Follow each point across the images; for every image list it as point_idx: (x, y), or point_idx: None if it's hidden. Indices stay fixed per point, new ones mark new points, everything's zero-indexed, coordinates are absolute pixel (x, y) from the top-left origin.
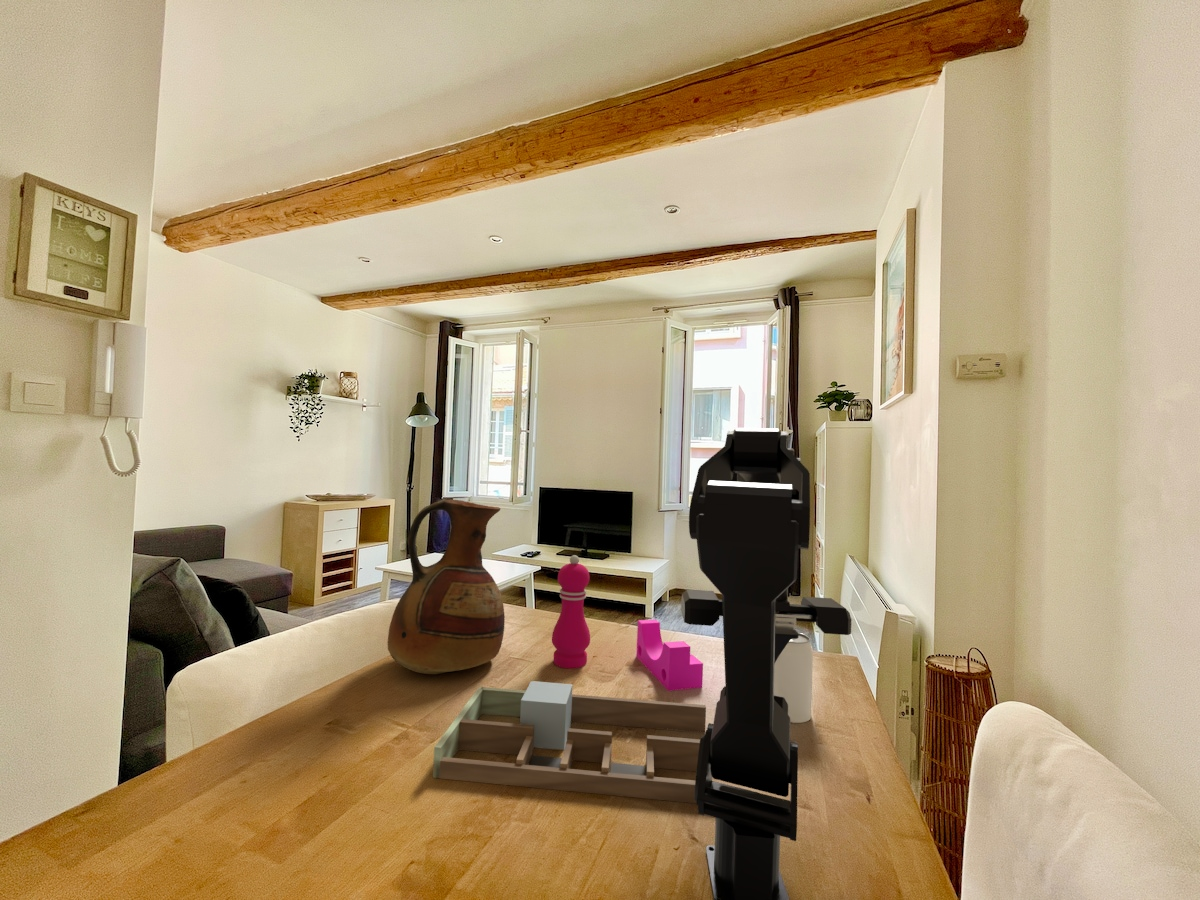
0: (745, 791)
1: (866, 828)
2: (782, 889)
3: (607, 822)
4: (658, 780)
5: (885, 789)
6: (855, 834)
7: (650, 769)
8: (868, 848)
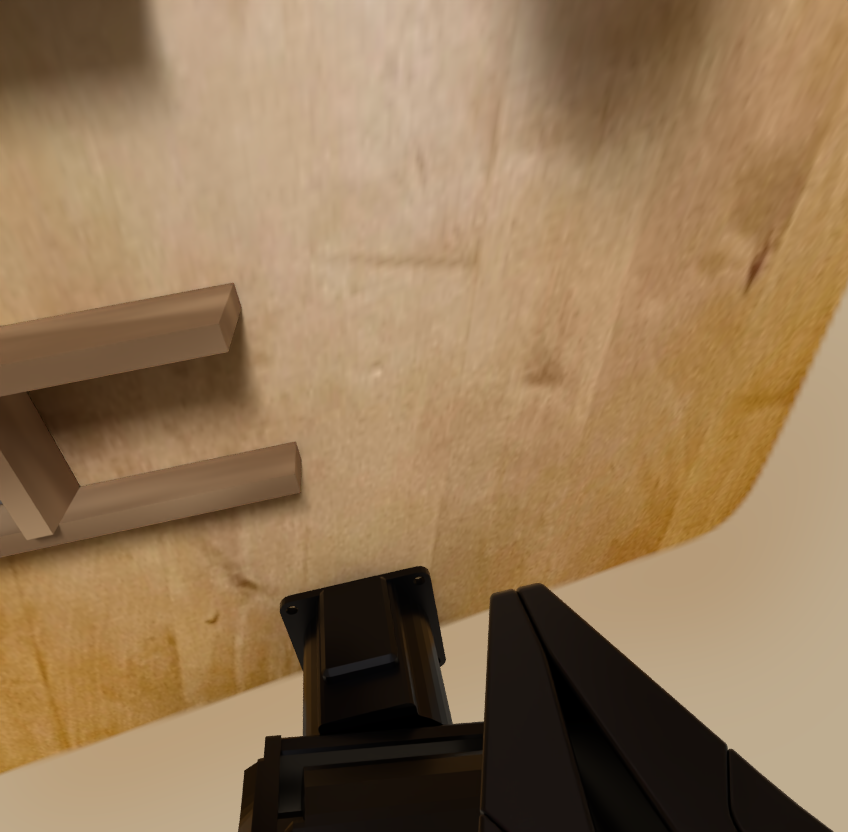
0: (378, 751)
1: (678, 407)
2: (435, 638)
3: (11, 617)
4: (83, 536)
5: (843, 192)
6: (639, 438)
7: (32, 526)
8: (648, 472)
